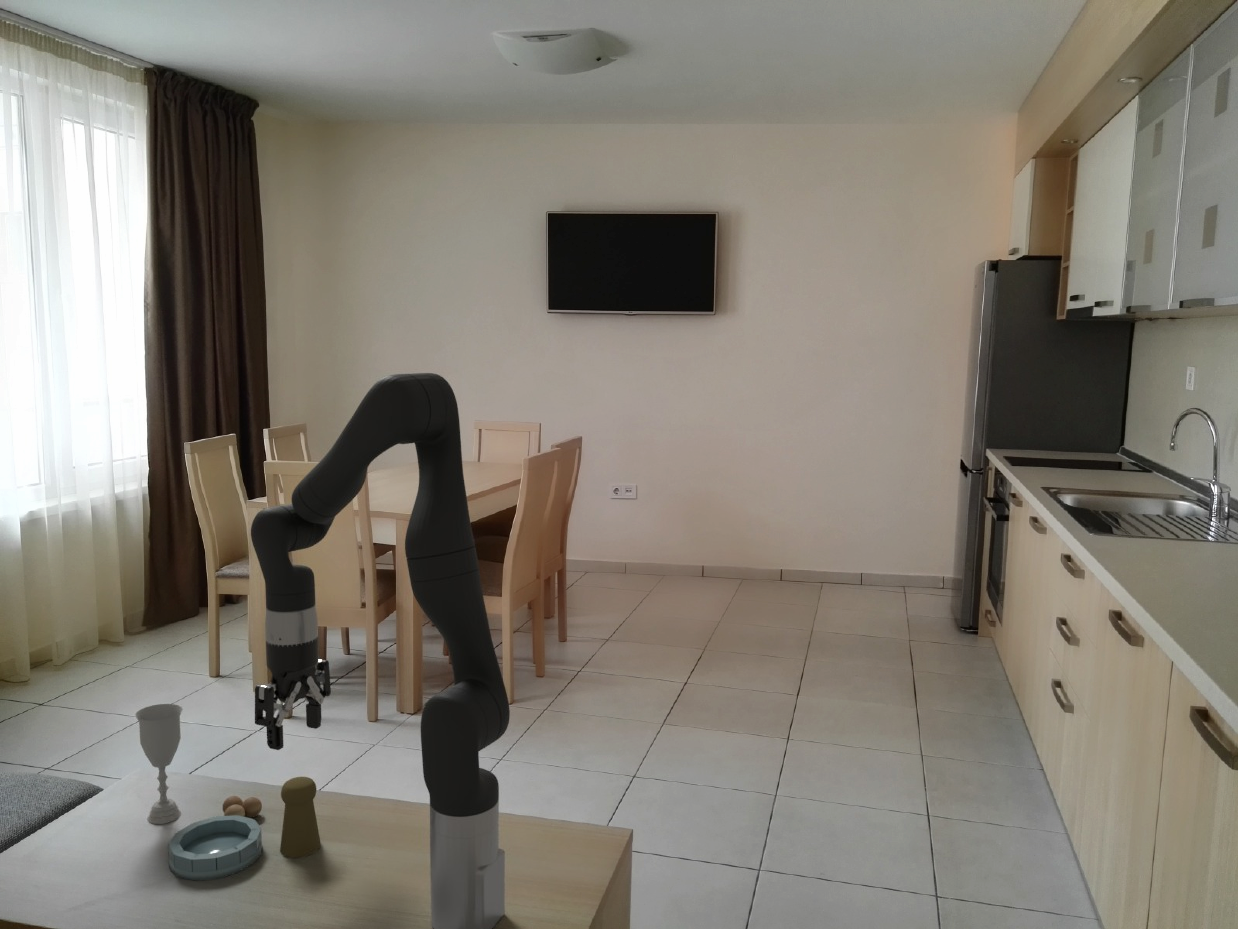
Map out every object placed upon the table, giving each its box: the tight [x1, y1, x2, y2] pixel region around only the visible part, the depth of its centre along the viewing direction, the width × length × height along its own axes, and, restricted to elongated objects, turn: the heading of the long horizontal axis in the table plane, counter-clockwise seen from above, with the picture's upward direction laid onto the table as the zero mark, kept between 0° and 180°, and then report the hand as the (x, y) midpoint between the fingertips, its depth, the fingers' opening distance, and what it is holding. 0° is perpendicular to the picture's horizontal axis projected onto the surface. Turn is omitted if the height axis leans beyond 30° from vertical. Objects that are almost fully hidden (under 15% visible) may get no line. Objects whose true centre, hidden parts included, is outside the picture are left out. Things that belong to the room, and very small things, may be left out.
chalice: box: [135, 703, 184, 825], centre depth 153 cm, size 7×7×18 cm
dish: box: [167, 815, 263, 881], centre depth 143 cm, size 13×13×3 cm
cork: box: [279, 776, 321, 859], centre depth 145 cm, size 6×6×11 cm
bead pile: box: [222, 795, 263, 819], centre depth 153 cm, size 6×6×3 cm
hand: (295, 737), depth 143 cm, fingers open, 8 cm apart
